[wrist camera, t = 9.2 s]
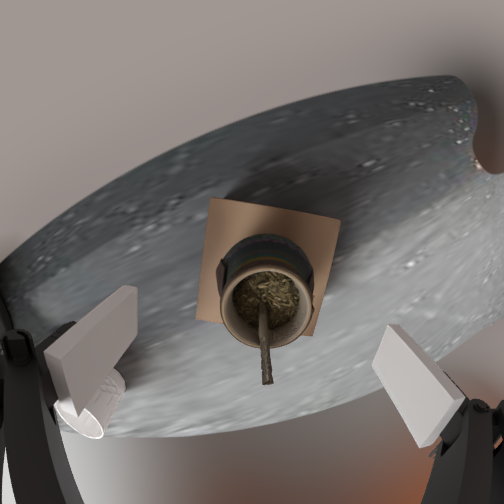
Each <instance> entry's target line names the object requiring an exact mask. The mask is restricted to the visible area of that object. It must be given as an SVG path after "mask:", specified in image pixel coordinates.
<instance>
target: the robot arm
mask: <svg viewBox="0 0 504 504" xmlns="http://www.w3.org/2000/svg"><path fill="white" fill-rule="evenodd" d="M137 335H138V331H137V288H136V287H132V286H127V285H123V286H122V287H120V288H119V289H118V290H117V291H115V292H114V293H113V294H112V295H110V296H109V297H108V298H107V299H105V300H104V301H103V302H102V303H100V304H99V305H98V306H97V307H95V308H94V309H93V310H92V311H90V312H89V313H88V314H87V315H86V316H84V317H83V318H82V319H81V320H80V321H78V322H75V321H72V322H69V323H66V324H64V325H62V326H61V327H60V328H58V329H57V330H56V332H54V333H52V334H51V336H49V337H47V338H46V339H45V340H44V341H43V342H41V343H40V344H39V345H38V346H37V347H35V348H34V344H33V340H32V336H31V334H30V333H29V332H28V331H25V330H23V329H14V330H13V328H12V324H11V321H10V317H9V315H8V312H7V310H6V307H5V305H4V303H3V301H2V299H1V297H0V354H1V353H4V355H0V504H2V475H3V463H4V454H5V447H6V453H7V461H8V468H9V473H10V479H11V484H12V488H13V493H14V497H15V500H16V504H84V502H83V500H82V497H81V495H80V492H79V490H78V487H77V485H76V482H75V480H74V477H73V474H72V471H71V468H70V465H69V462H68V459H67V455H66V452H65V449H64V445H63V441H62V438H61V434H60V429H59V425H58V421H57V416H56V411H55V408H54V406H53V405H54V404H55V403H56V401H57V400H59V403H60V406H61V408H62V410H64V411H66V412H68V413H70V414H72V415H74V416H76V417H79V416H80V414H81V413H82V411H83V410H84V408H85V407H86V405H87V404H88V402H89V401H90V400H91V398H92V397H93V395H94V394H95V392H96V391H97V390H98V388H99V387H100V385H101V384H102V383H103V381H104V380H105V378H106V377H107V376H108V374H109V373H110V371H111V370H112V369H113V367H114V366H115V365H116V363H117V362H118V360H119V359H120V358H121V356H122V355H123V354H124V352H125V351H126V350H127V348H128V347H129V346H130V344H131V343H132V342H133V340H134V339H135V338H136V336H137ZM371 366H372V368H373V369H374V371H375V373H376V374H377V376H378V377H379V379H380V381H381V382H382V384H383V386H384V387H385V389H386V391H387V392H388V394H389V396H390V398H391V399H392V401H393V403H394V404H395V406H396V408H397V410H398V411H399V413H400V415H401V416H402V418H403V420H404V422H405V423H406V425H407V427H408V429H409V430H410V432H411V434H412V435H413V437H414V439H415V441H416V443H417V445H418V447H419V448H422V447H425V446H429V445H432V444H433V443H434V441H435V440H436V439H437V438H438V436H439V435H440V436H441V438H442V441H441V442H440V443H439V444H438V445H437V447H436V448H435V449H434V450H433V451H432V453H431V454H430V455H429V457H431V456H432V455H433V454H434V453H436V456H435V457H434V459H435V460H434V464H433V468H432V471H431V475H430V478H429V481H428V484H427V488H426V490H425V493H424V496H423V499H422V502H421V504H504V400H502V401H501V402H500V403H499V405H498V406H497V408H496V409H490V407H489V406H488V404H486V403H485V402H484V401H482V400H480V399H472V400H471V401H470V400H469V399H468V397H467V396H466V395H465V394H464V393H463V392H462V391H461V390H460V389H459V387H458V386H457V385H455V383H454V382H453V381H452V380H451V378H450V377H449V376H448V375H447V374H446V373H445V372H444V371H442V370H441V369H440V368H439V367H438V365H437V364H436V363H435V362H434V361H433V360H432V359H431V358H430V357H429V356H428V355H427V354H426V353H425V351H424V350H423V349H422V348H421V347H420V346H419V345H418V344H417V343H416V342H415V341H414V340H413V339H412V338H411V337H410V336H409V335H408V334H407V333H406V332H405V331H404V330H403V329H402V328H401V327H400V325H395V324H388V325H387V328H386V330H385V333H384V336H383V338H382V341H381V343H380V346H379V348H378V351H377V353H376V356H375V358H374V360H373V363H372V365H371ZM501 436H502V439H503V441H502V442H501V443H500V445H499V446H498V447H497V448H496V449H495V448H494V445H495V444H496V442H497V441H498V440H499V438H500V437H501Z"/></svg>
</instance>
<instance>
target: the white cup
mask: <svg viewBox="0 0 504 504" xmlns="http://www.w3.org/2000/svg"><path fill="white" fill-rule="evenodd" d="M125 389H126V387H125V381H124V379H123V378H122V376H121V374H120V373H119V372H118V371H117V370H116V369H115V368H114V367H113V369H112V370H111V371H110V373H109V374H108V376H107V377H106V378H105V380H104V381H103V383H102V384H101V385H100V387H99V388H98V390H97V391H96V392H95V394H94V395H93V397H92V398H91V400H90V401H89V402H88V404H87V405H86V407H85V408H84V410H83V411H82V413H81V414H80V416H79V417H76V416H74V415H72V414H70V413H68V412H66V411H64V410H62V408H61V406H60V403H59V400H57V401H56V403H55V407H56V409H57V411H58V413H59V415H60V416H61V417H62V418H63V420H64V421H65V422H66V423H67V424H68V425H69V426H71V427H72V428H73V429H74V430H76V431H77V432H79V433H81V434H82V435H85V436H87V437H90V438H94V439H99V438H101V437H103V435H104V433H105V431H106V429H107V427H108V425H109V423H110V421H111V419H112V417H113V415H114V413H115V411H116V409H117V406H118V404H119V402H120V399H121V396H122V395H123V393H124V391H125Z"/></svg>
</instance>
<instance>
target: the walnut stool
mask: <svg viewBox="0 0 504 504" xmlns="http://www.w3.org/2000/svg"><path fill="white" fill-rule="evenodd" d="M340 223H341V220H338V219H335V218H330V217H325V216H320V215H315V214H310V213H305V212H300V211H294V210H289V209H283V208H278V207H272V206H266V205H260V204H254V203H248V202H242V201H236V200H229V199H223V198H216V197H211V198H210V205H209V212H208V219H207V226H206V233H205V241H204V249H203V257H202V265H201V274H200V283H199V292H198V302H197V312H196V319H200V320H205V321H210V322H216V323H221V324H224V323H223V321H222V318H221V313H220V299H221V298H220V296H219V292H218V288H217V279H216V269H217V266H218V264H219V263H220V260H221V258H222V259H223V258H224V256H225V255H226V254H227V252H228V251H229V250H230V249H231V248H232V247H233V246H234V245H235V244H236V243H238V242H239V241H241V240H243V239H244V238H247V237H250V236H253V235H256V234H269V233H270V234H275V235H279V236H283V237H286V238H288V239H290V240H291V241H292V242H294V243H295V244H297V246H299V247H301V249H302V250H303V251H304V253H305V254H306V256H307V258H308V260H309V262H310V264H311V266H312V267H313V271H314V292H313V296H315V297H313V301H314V302H312V303H313V306H314V308H315V310H314V313H313V316H312V319H311V321H310V323H309V325H308V327H307V328H306V330H305V331H304V332H303V333H302V335H304V336H313V333H314V329H315V326H316V323H317V319H318V315H319V312H320V308H321V304H322V301H323V297H324V293H325V289H326V285H327V281H328V277H329V273H330V269H331V265H332V260H333V256H334V252H335V247H336V242H337V238H338V233H339V228H340Z"/></svg>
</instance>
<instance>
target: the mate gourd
mask: <svg viewBox="0 0 504 504" xmlns="http://www.w3.org/2000/svg"><path fill="white" fill-rule="evenodd" d="M216 279H217V288H218V292H219V296H220V298H221V299H220V313H221V318H222V321H223V323H224V325H225V327H226V328H227V330H228V331H229V332H230V333H231V334H232V335H233V336H234V337H235V338H236V339H237V340H239V341H240V342H242V343H244V344H246V345H248V346H251V347H255V348H260V349H261V359H262V360H261V361H262V362H261V364H262V365H261V369H262V370H263V371H262V385H265V384H266V385H269V384H274V383H273V377H272V374H271V373H272V366H271V359H270V348H277V347H281V346H284V345H287V344H289V343H291V342H293V341H294V340H296V339H297V338H298V337H299V336H301V335H302V333H303V332H304V331H305V330H306V328H307V327H308V325H309V323H310V321H311V319H312V316H313V313H314V310H315V308H314V306H313V303H312V302H314V301H313V297H315V296H313V292H314V271H313V267H312V266H311V264H310V262H309V260H308V258H307V256H306V254H305V253H304V251H303V250H302V249H301V247H299V246H297V244H295V243H294V242H292V241H291V240H290V239H288V238H286V237H283V236H279V235H275V234H270V233H269V234H256V235H253V236H250V237H247V238H244V239H243V240H241V241H239V242H238V243H236V244H235V245H234V246H233V247H232V248H231V249H230V250H229V251H228V252H227V254H226V255H225V256H224V258H223V259H222V258H221V260H220V263H219V264H218V266H217V269H216Z"/></svg>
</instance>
